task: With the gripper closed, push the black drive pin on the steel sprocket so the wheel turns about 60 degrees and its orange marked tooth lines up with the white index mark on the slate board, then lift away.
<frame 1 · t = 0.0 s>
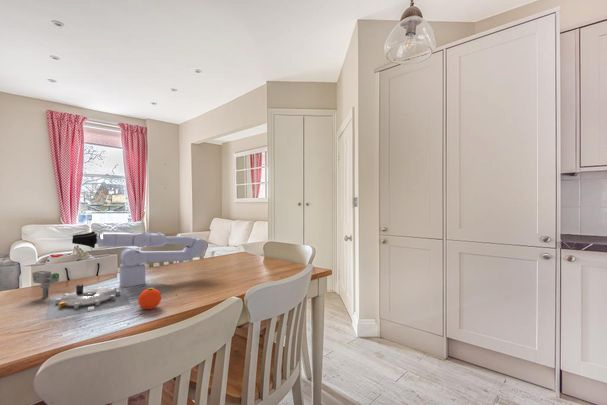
hand: (72, 239, 108), 22 cm above the table, fingers open, 7 cm apart
sprocket: (89, 292, 101), point 3 cm above the table, hinge at -60.0°
clementine: (150, 308, 96), on the table
index board: (89, 303, 100), on the table
mechanical component: (45, 299, 103), on the table
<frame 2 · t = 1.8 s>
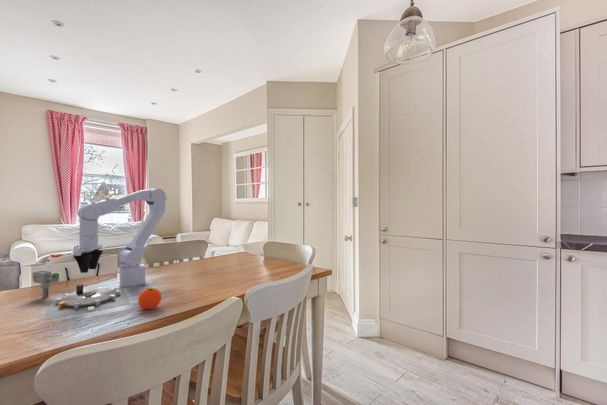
hand: (88, 270, 108), 9 cm above the table, fingers open, 5 cm apart
nothing on the table moved.
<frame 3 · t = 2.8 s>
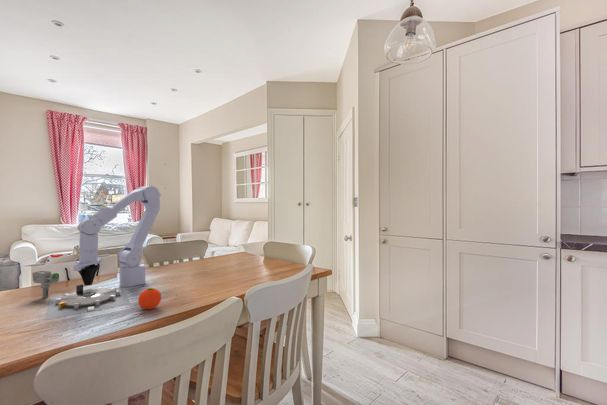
hand: (88, 284, 108), 4 cm above the table, fingers closed
nothing on the table moved.
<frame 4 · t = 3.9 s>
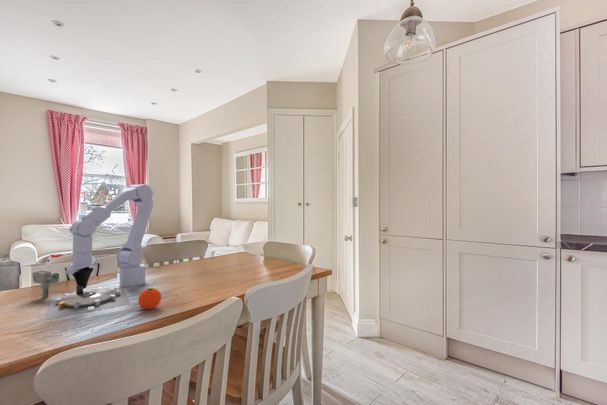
hand: (82, 288, 105), 4 cm above the table, fingers closed, pressing on sprocket
sprocket: (89, 292, 101), point 3 cm above the table, hinge at -60.0°, touching gripper
everything else where it was.
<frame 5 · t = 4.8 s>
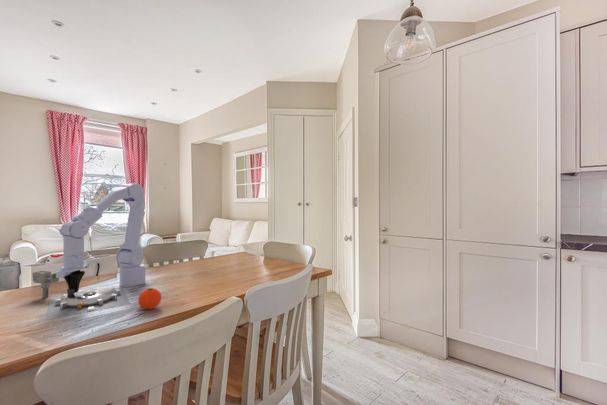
hand: (73, 292, 100), 4 cm above the table, fingers closed, pressing on sprocket
sprocket: (89, 292, 101), point 3 cm above the table, hinge at -18.2°, touching gripper
everything else where it was.
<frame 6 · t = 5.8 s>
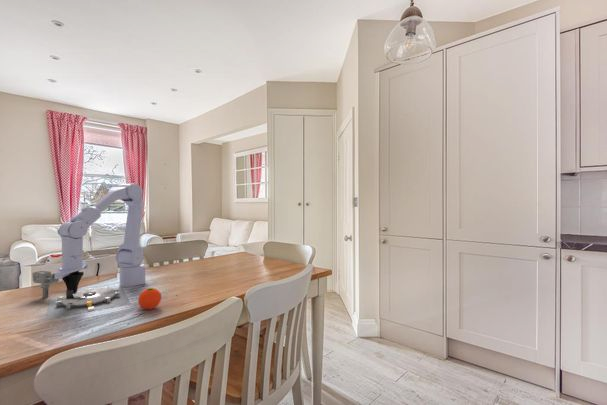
hand: (72, 293, 99), 4 cm above the table, fingers closed
sprocket: (89, 292, 101), point 3 cm above the table, hinge at -2.4°, touching gripper
everything else where it was.
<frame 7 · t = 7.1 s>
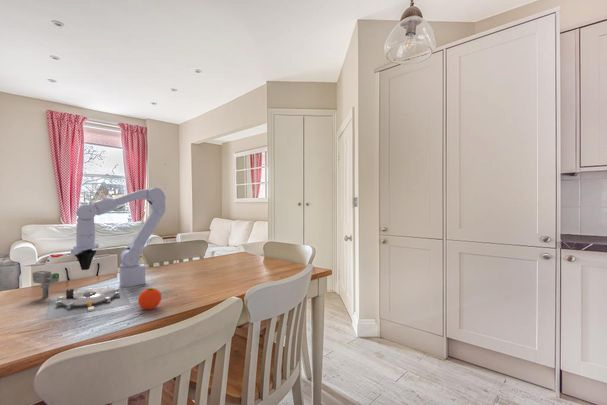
hand: (85, 269, 110), 9 cm above the table, fingers closed
sprocket: (89, 292, 101), point 3 cm above the table, hinge at -2.1°
everything else where it was.
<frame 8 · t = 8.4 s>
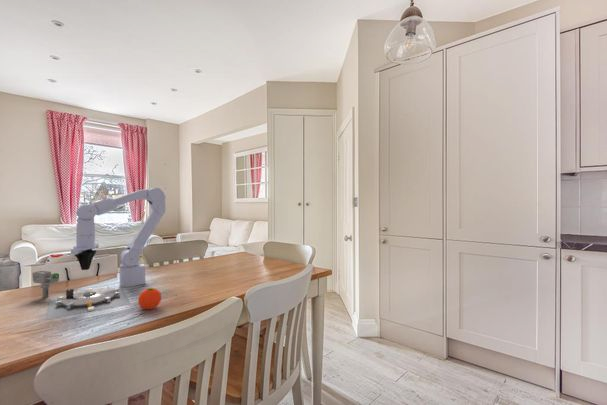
hand: (85, 269, 110), 9 cm above the table, fingers closed
nothing on the table moved.
at the end: sprocket at -2° (first picture: -60°); mechanical component moved 0.2 cm from its start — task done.
